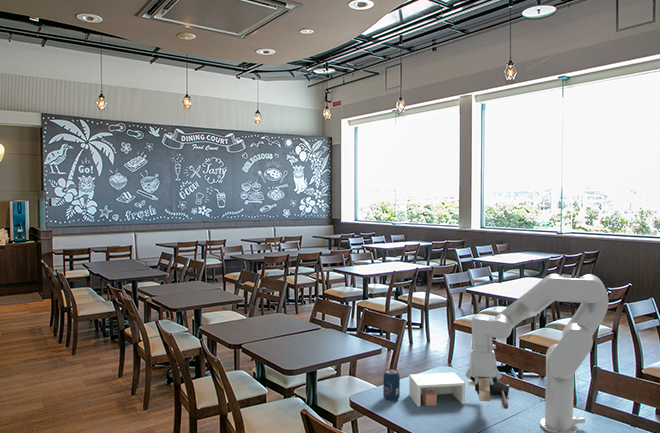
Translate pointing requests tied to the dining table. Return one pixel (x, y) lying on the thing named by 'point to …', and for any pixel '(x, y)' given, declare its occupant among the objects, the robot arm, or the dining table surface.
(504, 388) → the coffee pot
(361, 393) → the dining table surface
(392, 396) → the soda can
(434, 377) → the shelf cubby
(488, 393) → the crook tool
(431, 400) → the block
